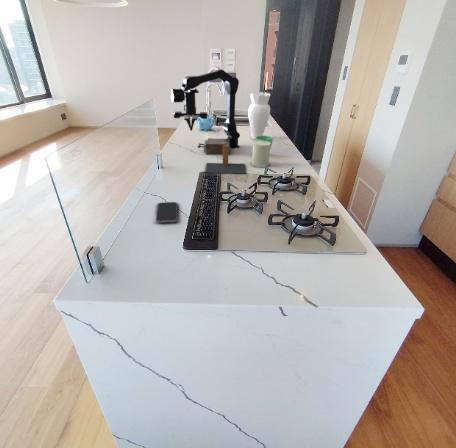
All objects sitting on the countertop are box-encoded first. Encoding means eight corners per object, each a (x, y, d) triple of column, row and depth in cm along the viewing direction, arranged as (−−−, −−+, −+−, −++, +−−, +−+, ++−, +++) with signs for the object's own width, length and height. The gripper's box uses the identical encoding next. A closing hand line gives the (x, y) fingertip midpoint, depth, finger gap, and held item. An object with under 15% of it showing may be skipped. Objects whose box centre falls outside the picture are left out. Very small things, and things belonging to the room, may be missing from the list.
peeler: (222, 165, 150) (222, 143, 144) (222, 163, 153) (222, 141, 147) (228, 165, 150) (229, 143, 144) (228, 163, 153) (229, 141, 147)
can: (270, 162, 156) (272, 140, 150) (266, 168, 149) (269, 145, 142) (253, 160, 159) (255, 138, 152) (249, 165, 151) (251, 143, 145)
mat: (244, 164, 153) (244, 163, 153) (245, 174, 141) (245, 173, 141) (207, 163, 153) (207, 163, 153) (205, 173, 141) (205, 172, 141)
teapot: (214, 131, 216) (215, 117, 210) (197, 132, 214) (197, 117, 208) (212, 127, 227) (212, 114, 221) (195, 128, 224) (195, 114, 219)
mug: (271, 158, 163) (273, 140, 158) (254, 157, 164) (256, 139, 159) (270, 150, 176) (272, 134, 170) (254, 149, 176) (255, 133, 171)
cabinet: (206, 154, 167) (206, 143, 164) (207, 148, 178) (207, 138, 175) (229, 154, 167) (230, 144, 164) (229, 148, 178) (229, 138, 175)
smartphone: (176, 202, 112) (177, 219, 99) (177, 204, 112) (177, 222, 99) (158, 202, 111) (155, 221, 98) (158, 205, 111) (155, 223, 98)
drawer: (197, 152, 167) (197, 145, 165) (198, 146, 177) (198, 139, 175) (225, 152, 167) (225, 145, 165) (225, 147, 177) (225, 140, 175)
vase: (242, 138, 198) (245, 93, 183) (252, 134, 209) (255, 91, 194) (261, 142, 192) (266, 95, 177) (270, 137, 202) (275, 93, 187)
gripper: (207, 100, 165) (207, 127, 173) (175, 99, 165) (177, 127, 173) (206, 103, 156) (206, 132, 164) (172, 102, 156) (174, 131, 164)
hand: (191, 130), depth 166 cm, fingers closed
